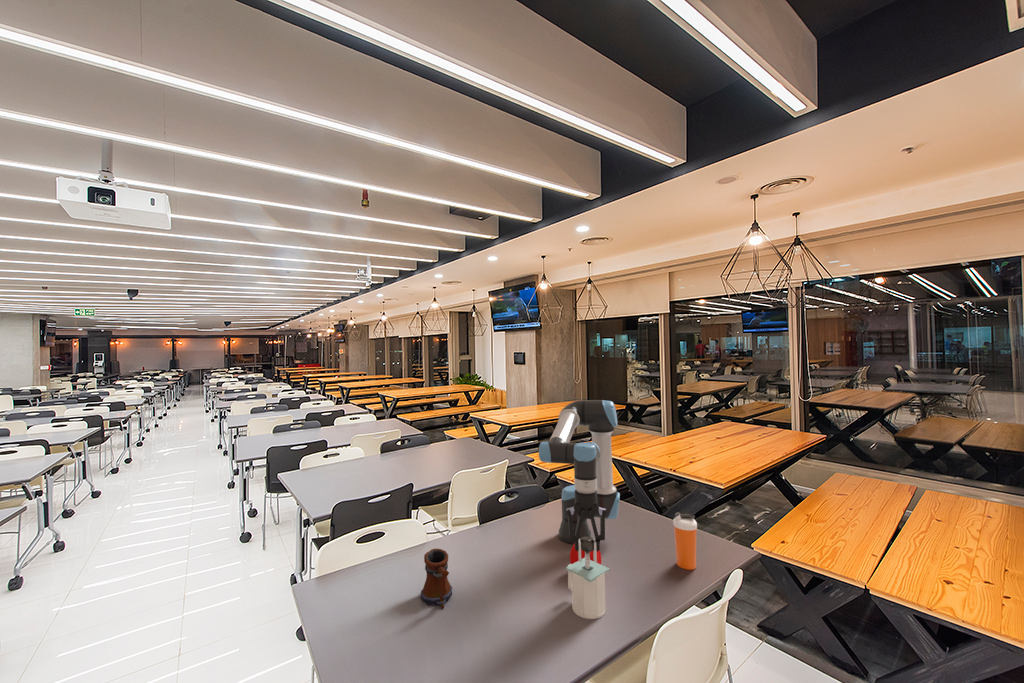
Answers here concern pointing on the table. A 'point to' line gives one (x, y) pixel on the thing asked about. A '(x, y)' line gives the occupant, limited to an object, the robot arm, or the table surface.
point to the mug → (436, 578)
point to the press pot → (587, 589)
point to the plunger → (587, 550)
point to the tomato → (582, 555)
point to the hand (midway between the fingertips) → (587, 560)
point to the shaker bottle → (685, 540)
